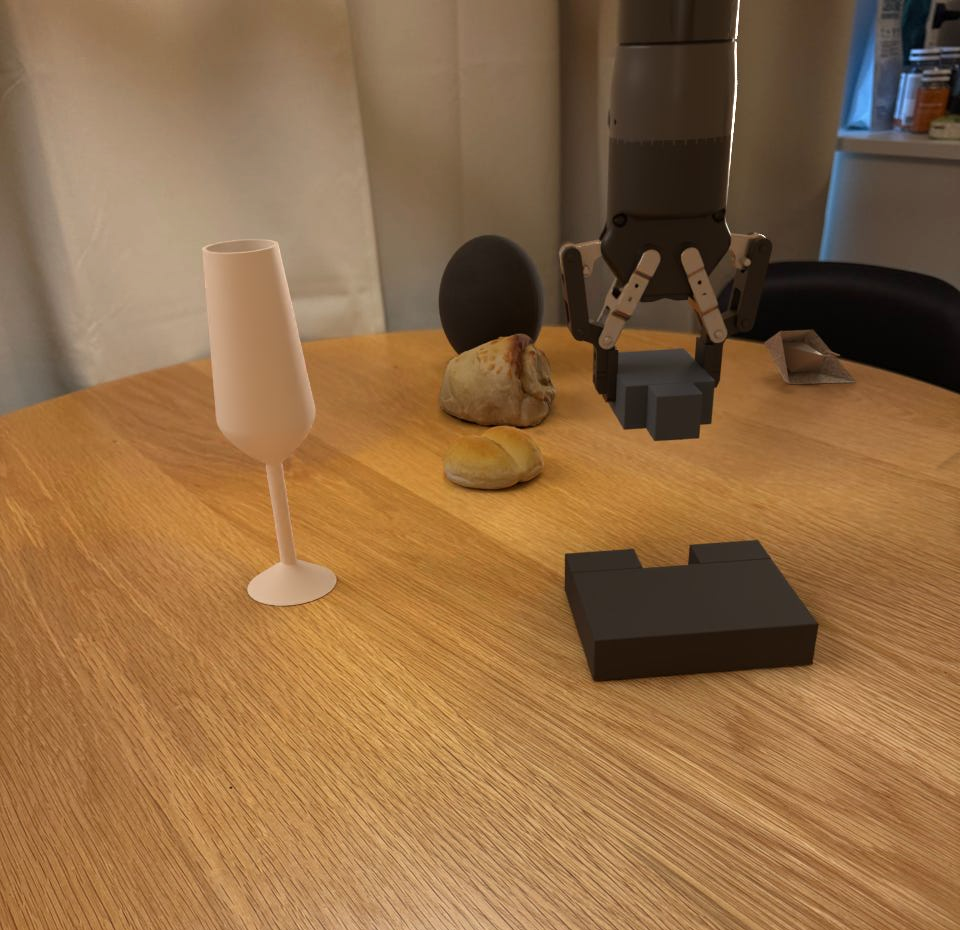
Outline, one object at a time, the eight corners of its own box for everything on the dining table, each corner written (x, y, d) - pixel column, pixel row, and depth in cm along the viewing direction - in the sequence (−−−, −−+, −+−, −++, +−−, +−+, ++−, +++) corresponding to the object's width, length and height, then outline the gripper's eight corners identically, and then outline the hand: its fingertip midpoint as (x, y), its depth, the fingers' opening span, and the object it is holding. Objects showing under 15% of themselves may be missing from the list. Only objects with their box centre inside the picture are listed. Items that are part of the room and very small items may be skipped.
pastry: (573, 423, 103) (574, 344, 99) (455, 437, 101) (451, 358, 97) (534, 383, 115) (533, 312, 111) (427, 396, 113) (422, 323, 108)
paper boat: (830, 354, 116) (889, 351, 108) (808, 406, 117) (866, 407, 108) (754, 306, 111) (811, 299, 103) (732, 361, 111) (786, 359, 103)
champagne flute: (355, 582, 75) (315, 243, 63) (280, 615, 71) (222, 261, 59) (302, 555, 80) (255, 232, 67) (229, 585, 76) (165, 248, 63)
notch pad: (753, 576, 74) (758, 539, 72) (812, 664, 63) (819, 623, 62) (564, 590, 73) (564, 553, 71) (593, 681, 63) (594, 640, 61)
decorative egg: (452, 388, 115) (444, 249, 107) (434, 359, 125) (426, 230, 117) (557, 377, 116) (557, 240, 109) (531, 349, 127) (529, 222, 119)
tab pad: (682, 388, 74) (684, 348, 73) (722, 437, 66) (726, 392, 64) (601, 393, 74) (602, 353, 73) (631, 443, 65) (633, 397, 64)
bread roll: (428, 472, 93) (425, 430, 91) (510, 451, 97) (509, 410, 95) (473, 501, 87) (471, 457, 85) (559, 477, 91) (558, 435, 89)
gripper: (563, 139, 58) (561, 420, 67) (807, 128, 59) (773, 407, 68) (546, 128, 65) (546, 386, 73) (766, 118, 65) (740, 374, 74)
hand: (655, 395), depth 70 cm, fingers closed on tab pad, 6 cm apart
